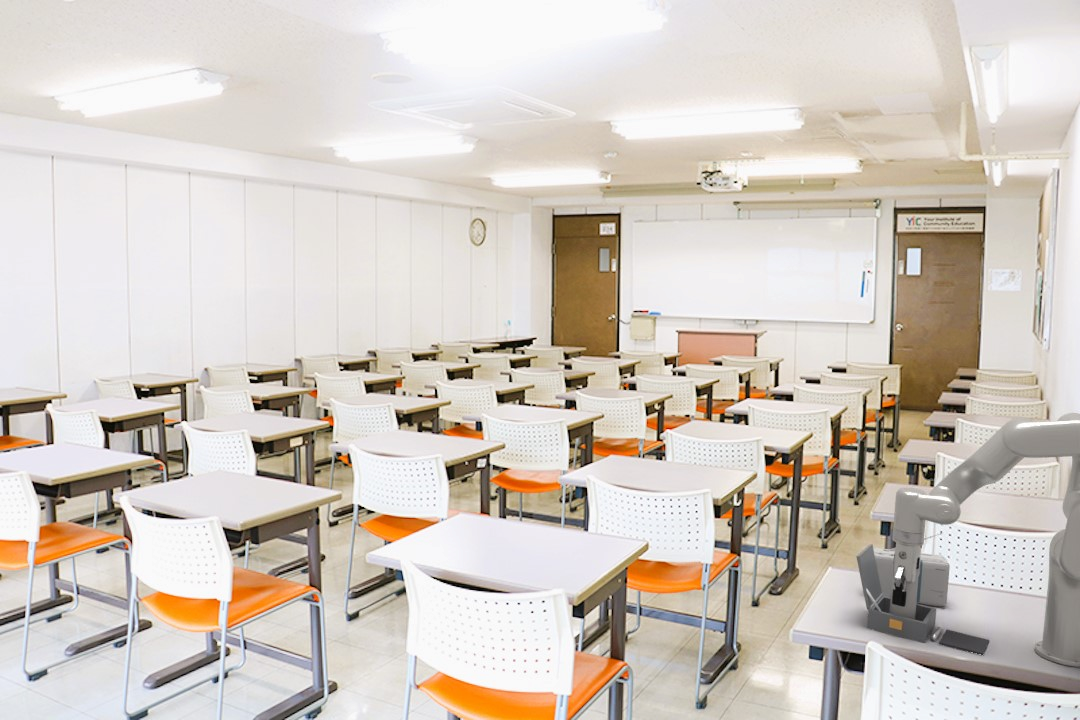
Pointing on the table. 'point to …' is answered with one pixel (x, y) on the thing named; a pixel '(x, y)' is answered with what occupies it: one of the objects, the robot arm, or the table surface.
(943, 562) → the stereo radio cassette player
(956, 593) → the table surface
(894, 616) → the case
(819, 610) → the table surface
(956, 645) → the pad
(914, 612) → the travel mug
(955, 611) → the table surface
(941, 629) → the rod
